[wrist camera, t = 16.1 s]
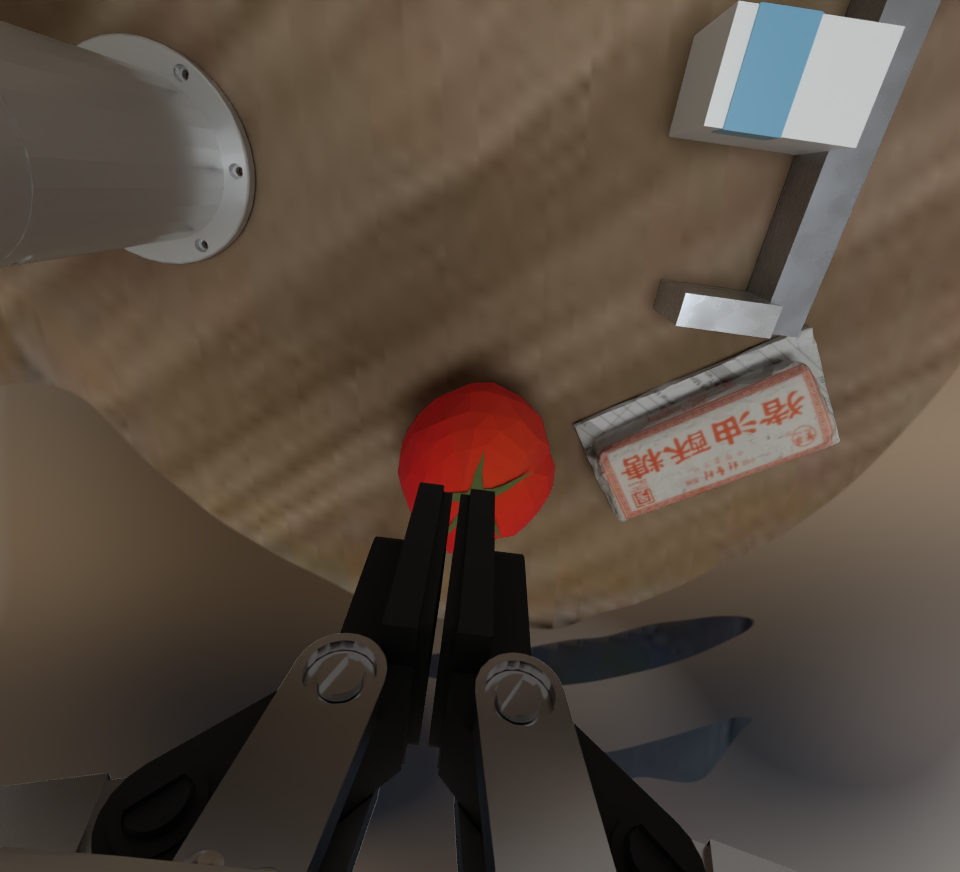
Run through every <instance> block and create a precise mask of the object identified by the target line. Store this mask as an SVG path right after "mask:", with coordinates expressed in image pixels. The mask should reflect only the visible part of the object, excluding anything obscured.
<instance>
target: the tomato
mask: <svg viewBox="0 0 960 872" xmlns="http://www.w3.org/2000/svg"><path fill="white" fill-rule="evenodd" d="M554 471H555V464H554V462H553V459H552V457H551V454H550V450H549V444H548V440H547V436H546V433H545V429H544V425H543V421H542V418H541V417H540V416H539V415H538V414H537V413H536V412H535V411H534V409H533V408H532V407H531V406H530V405H529V404H528V403H527V402H526V401H525V400H524V399H523V398H522V397H521V396H519V395H517V394H515V393H513V392H511V391H509V390H508V389H506V388H504V387H502V386H500V385H498V384H496V383H494V382H486V383H471V384H468V385H466V386H463V387H461V388H458V389H456V390H453V391H451V392H449V393H446V394H444V395H441V396H439V397H437V398H436V399H435V400H434V401H432V402H431V403H430V404H429V405H428V406H427V407H425V408H424V409H423V410H422V411H421V413H420V414H419V415H418V416H417V417H416V419H415V420H414V422H413V423H412V424H411V426H410V427H409V429H408V431H407V433H406V435H405V437H404V439H403V442H402V448H401V454H400V461H399V467H398V475H399V479H400V484H401V488H402V491H403V494H404V496H405V499H406V501H407V504H408V506H409V509H410V512H411V513H412V509H413V506H414V502H415V498H416V495H417V491H418V487H419V484H420V482H424V483H432V484H440V485H444V492H451V493H453V497H452V505H451V513H450V522H449V530H448V538H447V546H446V551H447V552H448V553H453V549H454V541H455V534H456V526H457V518H458V511H459V503H460V496H461V494H467V495H470V492H471V489H479V490H487V491H495V539H498V538H503V537H509V536H514V535H515V534H517V533H518V532H519V531H520V530H521V529H523V528H524V527H525V526H526V525H527V524H528V523H529V522H530V520H531V519H532V518H533V517H534V516H535V515H536V514H537V513H538V511H539V510H540V509H541V507H542V506H543V504H544V503H545V501H546V500H547V498H548V496H549V494H550V492H551V489H552V486H553V481H554Z"/></svg>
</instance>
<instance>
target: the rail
mask: <svg viewBox="0 0 960 872" xmlns="http://www.w3.org/2000/svg"><path fill="white" fill-rule="evenodd" d="M940 1H941V0H851V2H850V5H849V8H848V10H847V13H846V16H845V17H848V18H854V19H861V20H867V21H874V22H880V23H887V24H893V25H900V26H905V29H904V31H903V33H902V36H901V38H900V41H899V43H898V46H897V48H896V51H895V53H894V56H893V58H892V61H891V63H890V65H889V68H888V70H887V73H886V75H885V78H884V80H883V83H882V85H881V88H880V90H879V93H878V95H877V97H876V100H875V102H874V105H873V107H872V110H871V112H870V115H869V117H868V120H867V122H866V125H865V127H864V130H863V132H862V134H861V137H860V139H859V142H858V144H857V147H856V148H853V149H845V150H836V151H827V152H818V153H809V154H800V155H795V157H794V160H793V163H792V166H791V168H790V171H789V174H788V177H787V180H786V182H785V185H784V188H783V191H782V193H781V196H780V199H779V202H778V205H777V207H776V210H775V213H774V216H773V218H772V221H771V224H770V227H769V229H768V232H767V235H766V238H765V241H764V243H763V246H762V249H761V252H760V254H759V257H758V260H757V263H756V266H755V268H754V271H753V274H752V277H751V279H750V282H749V285H748V288H747V290H746V291H742V290H735V289H728V288H720V287H713V286H706V285H699V284H692V283H685V282H677V281H670V280H663V279H661V283H660V286H659V290H658V294H657V297H656V301H655V304H654V309H655V310H656V311H658V312H659V313H660V314H661V315H663V316H664V317H665V318H667V319H668V320H669V321H670V322H672V323H673V324H674V325H676V326H682V327H689V328H697V329H704V330H711V331H719V332H726V333H733V334H740V335H748V336H755V337H762V338H771V335H772V334H775V335H782V336H789V337H797V338H798V336H799V334H800V332H801V329H802V327H803V325H804V322H805V320H806V317H807V315H808V313H809V310H810V308H811V306H812V303H813V301H814V299H815V296H816V294H817V292H818V289H819V287H820V284H821V282H822V280H823V277H824V275H825V273H826V270H827V268H828V266H829V263H830V261H831V259H832V256H833V254H834V251H835V249H836V247H837V244H838V242H839V240H840V237H841V235H842V233H843V230H844V228H845V225H846V223H847V221H848V218H849V216H850V214H851V211H852V209H853V207H854V204H855V202H856V200H857V197H858V195H859V192H860V190H861V188H862V185H863V183H864V181H865V178H866V176H867V174H868V171H869V169H870V167H871V164H872V162H873V159H874V157H875V155H876V152H877V150H878V148H879V145H880V143H881V141H882V138H883V136H884V134H885V131H886V129H887V126H888V124H889V122H890V119H891V117H892V115H893V112H894V110H895V108H896V105H897V103H898V100H899V98H900V96H901V93H902V91H903V89H904V86H905V84H906V82H907V79H908V77H909V75H910V72H911V70H912V67H913V65H914V63H915V60H916V58H917V56H918V53H919V51H920V49H921V46H922V44H923V42H924V39H925V37H926V34H927V32H928V30H929V27H930V25H931V23H932V20H933V18H934V16H935V13H936V11H937V9H938V6H939V4H940Z"/></svg>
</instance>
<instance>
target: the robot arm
mask: <svg viewBox="0 0 960 872" xmlns="http://www.w3.org/2000/svg"><path fill="white" fill-rule="evenodd" d="M187 72H188V73H189V77H188V79H187V77H186V73H187ZM240 168H242V171H243V176H241V175H240V173H239V169H240ZM254 192H255V169H254V163H253V158H252V153H251V148H250V144H249V142H248V139H247V136H246V133H245V130H244V128H243V125H242V123H241V121H240V119H239V117H238V116H237V114H236V112H235V110H234V108H233V106H232V104H231V103H230V101H229V100H228V99H227V97H226V96H225V95H224V93H223V92H222V91H221V89H220V88H219V87H218V85H217V84H216V83H215V82H214V81H213V80H212V79H211V78H210V77H209V76H208V75H207V74H206V73H205V72H204V71H203V70H202V69H201V68H200V67H199V66H198V65H196V64H195V63H193V62H192V61H191V60H189V59H188V58H186V57H185V56H184V55H182V54H181V53H179V52H177V51H175V50H173V49H171V48H169V47H167V46H165V45H163V44H161V43H158V42H156V41H153V40H150V39H147V38H145V37H142V36H138V35H131V34H124V33H111V34H101V35H97V36H94V37H92V38H89V39H86V40H84V41H81V42H80V43H79V44H77V45H76V46H75V45H72V44H69V43H66V42H63V41H60V40H57V39H54V38H51V37H48V36H45V35H42V34H39V33H36V32H33V31H30V30H27V29H24V28H21V27H18V26H15V25H12V24H9V23H6V22H3V21H0V268H2V267H8V266H14V265H21V264H27V263H33V262H39V261H46V260H52V259H58V258H65V257H71V256H77V255H83V254H90V253H96V252H102V251H108V250H115V249H121V248H123V249H125V250H127V251H128V252H131V253H133V254H135V255H138V256H140V257H142V258H145V259H148V260H152V261H156V262H161V263H167V264H185V263H191V262H197V261H201V260H204V259H207V258H210V257H213V256H214V255H216V254H218V253H220V252H221V251H223V250H225V249H226V248H227V247H228V246H229V245H230V244H231V243H232V242H233V241H235V240H236V239H237V237H238V236H239V234H240V233H241V231H242V230H243V228H244V226H245V225H246V223H247V220H248V217H249V215H250V212H251V209H252V205H253V198H254ZM205 241H206V242H207V245H208V247H207V246H206V244H205ZM452 497H453V493H451V492H444V485H440V484H432V483H424V482H420V484H419V487H418V491H417V495H416V498H415V502H414V506H413V509H412V513H411V517H410V521H409V524H408V528H407V532H406V535H405V539H404V540H401V539H393V538H385V537H377V536H376V537H375V538H374V541H373V543H372V546H371V549H370V551H369V554H368V557H367V560H366V563H365V565H364V568H363V571H362V574H361V577H360V579H359V582H358V585H357V588H356V591H355V593H354V596H353V599H352V602H351V605H350V608H349V610H348V613H347V616H346V619H345V622H344V624H343V627H342V630H341V633H340V634H333V635H329V636H327V637H324V638H322V639H319V640H317V641H316V642H314V643H313V644H312V645H310V646H309V647H307V648H306V649H305V650H304V651H303V653H302V654H301V655H300V656H299V657H298V659H297V660H296V662H295V663H294V665H293V667H292V668H291V670H290V672H289V673H288V675H287V676H286V678H285V679H284V681H283V683H282V684H281V686H280V688H279V689H278V690H277V691H275V692H273V693H272V694H270V695H268V696H266V697H265V698H263V699H261V700H259V701H258V702H256V703H254V704H252V705H250V706H249V707H247V708H245V709H243V710H242V711H240V712H238V713H236V714H234V715H233V716H231V717H229V718H227V719H226V720H224V721H222V722H220V723H218V724H217V725H215V726H213V727H211V728H210V729H208V730H206V731H204V732H202V733H201V734H199V735H197V736H195V737H194V738H192V739H190V740H188V741H186V742H185V743H183V744H181V745H179V746H178V747H176V748H174V749H172V750H170V751H169V752H167V753H165V754H163V755H162V756H160V757H158V758H156V759H154V760H153V761H151V762H149V763H147V764H146V765H144V766H143V767H141V768H140V769H139V770H137V771H136V772H134V773H133V774H131V775H130V776H129V777H127V778H121V779H113V780H111V778H110V775H109V773H103V774H95V775H87V776H79V777H71V778H63V779H56V780H48V781H41V782H32V783H24V784H17V785H9V786H0V872H352V871H353V868H354V865H355V863H356V860H357V857H358V854H359V851H360V848H361V845H362V842H363V839H364V836H365V833H366V830H367V827H368V825H369V821H370V818H371V816H372V813H373V810H374V807H375V804H376V801H377V798H378V793H379V787H381V786H382V785H383V784H384V783H385V782H387V781H388V780H389V779H391V778H392V777H393V776H394V775H396V774H397V773H398V772H399V771H400V770H401V767H402V764H404V761H405V755H406V749H407V744H413V745H419V739H420V732H421V725H422V719H423V712H424V705H425V698H426V691H427V684H428V677H429V671H430V664H431V657H432V650H433V643H434V636H435V629H436V622H437V615H438V608H439V601H440V594H441V587H442V579H443V571H444V562H445V554H446V546H447V538H448V530H449V522H450V513H451V505H452ZM494 545H495V491H487V490H479V489H471V492H470V495H467V494H461V496H460V503H459V511H458V518H457V526H456V534H455V541H454V549H453V557H452V564H451V572H450V580H449V587H448V595H447V603H446V611H445V618H444V626H443V635H442V642H441V650H440V658H439V665H438V673H437V681H436V689H435V697H434V705H433V713H432V720H431V729H430V736H429V745H428V746H429V747H438V748H439V758H438V767H437V768H439V770H438V775H439V776H440V778H441V779H442V780H443V782H444V783H445V784H446V786H447V787H448V788H449V789H450V791H451V792H452V793H453V795H454V796H455V798H454V820H455V836H456V853H457V871H458V872H797V871H794V870H792V869H789V868H786V867H784V866H781V865H778V864H776V863H773V862H770V861H768V860H765V859H762V858H759V857H757V856H754V855H751V854H749V853H746V852H744V851H741V850H738V849H735V848H733V847H730V846H727V845H725V844H722V843H719V842H717V841H714V840H711V839H710V840H709V841H708V843H707V844H706V845H704V844H702V843H699V842H697V841H694V840H691V838H690V837H689V836H688V835H687V834H686V833H685V831H684V830H683V829H682V828H681V827H680V825H679V824H678V823H677V822H676V821H675V820H674V819H673V818H672V817H671V816H670V815H669V814H668V813H667V812H665V811H664V810H663V809H662V808H661V807H660V806H659V805H658V804H657V803H656V802H655V801H654V800H653V799H652V798H651V797H650V796H649V795H648V794H647V793H646V792H645V791H643V789H642V788H641V787H639V786H638V785H637V784H636V783H635V782H634V781H633V780H632V779H631V778H630V777H629V776H628V775H627V774H626V773H625V772H624V771H623V770H622V769H621V768H620V767H619V766H618V765H617V764H616V763H615V762H614V761H612V760H611V759H610V758H609V757H608V756H607V755H606V754H605V753H604V752H603V751H602V750H601V749H600V748H599V747H598V746H597V745H596V744H595V743H594V742H593V741H592V740H591V739H590V738H589V737H588V736H586V735H585V734H584V733H583V732H582V731H581V730H580V729H579V728H578V727H577V726H576V725H575V724H574V723H573V720H572V716H571V712H570V709H569V705H568V702H567V698H566V695H565V691H564V689H563V687H562V684H561V682H560V680H559V678H558V677H557V675H556V674H555V673H554V672H553V671H552V669H551V668H550V667H549V666H547V665H546V664H544V663H543V662H542V661H540V660H539V659H537V658H534V657H532V656H531V646H530V632H529V617H528V602H527V588H526V573H525V560H524V556H523V555H522V554H514V553H506V552H498V551H494Z"/></svg>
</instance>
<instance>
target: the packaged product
mask: <svg viewBox="0 0 960 872" xmlns="http://www.w3.org/2000/svg"><path fill="white" fill-rule="evenodd" d="M574 427H575V429H576V432H577V434H578V436H579V439H580V441H581V443H582V445H583V448H584V450H585V452H586V455H587V458H588V460H589V462H590V464H591V466H592V467H593V471H594V474H595V477H596V479H597V480H598V482H599V484H600V487H601V489H602V490H603V491H604V492H605V494H606V496H607V499H608V501H609V503H610V505H611V508H612V510H613V512H614V513H615V514H616V515H617V518H618V520H619V521H626V520H628V519H631V518H633V517H636V516H639V515H642V514H646V513H648V512H651V511H653V510H659V509H660V508H663V507H665V506H667V505H670V504H672V503H676V502H679V501H683V500H685V499H687V498H689V497H691V496H694V495H698V494H701V493H702V492H706V491H709V490H712V489H714V488H717V487H719V486H723V485H724V484H727V483H731V482H734V481H737V480H739V479H741V478H744V477H747V476H750V475H753V474H755V473H758V472H761V471H763V470H766V469H769V468H772V467H775V466H777V465H780V464H783V463H785V462H788V461H790V460H793V459H795V458H797V457H800V456H804V455H807V454H810V453H814V452H816V451H819V450H822V449H825V448H826V447H828V446H831V445H834V444H836V443H838V442H839V441H840V440H839V435H838V431H837V426H836V422H835V419H834V415H833V410H832V406H831V403H830V399H829V396H828V392H827V389H826V385H825V379H824V375H823V371H822V366H821V361H820V357H819V353H818V349H817V344H816V341H815V339H814V338H813V331H812V327H809V326H804V327H802V329H801V332H800V334H799V336H798V338H797V337H789V336H782V335H781V336H778V337H776V338H774V339H772V340H769V341H767V342H765V343H763V344H760V345H758V346H756V347H754V348H751V349H749V350H747V351H745V352H743V353H740V354H738V355H736V356H734V357H731V358H729V359H726V360H724V361H721V362H719V363H716V364H714V365H711V366H709V367H706V368H704V369H701V370H699V371H696V372H694V373H692V374H689V375H687V376H684V377H681V378H678V379H676V380H673V381H670V382H667V383H665V384H663V385H661V386H659V387H656V388H654V389H652V390H650V391H648V392H646V393H644V394H642V395H640V396H639V397H637V398H634V399H631V400H628V401H626V402H623V403H621V404H618V405H616V406H613V407H611V408H609V409H606V410H604V411H602V412H600V413H597V414H595V415H593V416H591V417H588V418H586V419H584V420H582V421H580V422H578V423H575V424H574Z"/></svg>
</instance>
